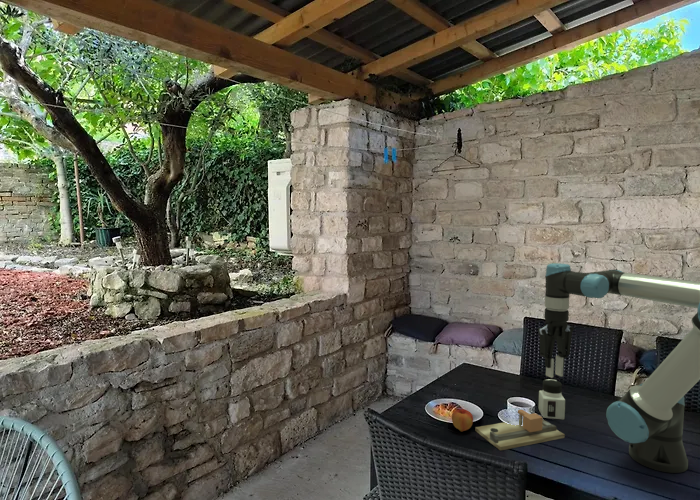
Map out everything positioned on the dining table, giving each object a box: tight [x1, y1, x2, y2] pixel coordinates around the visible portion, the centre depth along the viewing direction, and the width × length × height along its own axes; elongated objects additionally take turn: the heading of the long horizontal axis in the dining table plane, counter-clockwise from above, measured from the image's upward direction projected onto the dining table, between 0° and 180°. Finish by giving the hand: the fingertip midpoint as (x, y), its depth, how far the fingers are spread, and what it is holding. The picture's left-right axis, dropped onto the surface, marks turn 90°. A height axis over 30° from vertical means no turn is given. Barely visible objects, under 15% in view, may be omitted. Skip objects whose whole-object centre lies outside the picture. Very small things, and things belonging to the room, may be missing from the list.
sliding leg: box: [517, 409, 544, 432], centre depth 155 cm, size 8×5×6 cm, turn 18°
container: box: [538, 378, 566, 420], centre depth 170 cm, size 8×8×13 cm
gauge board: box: [474, 419, 566, 451], centre depth 155 cm, size 14×26×4 cm, turn 108°
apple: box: [451, 406, 474, 432], centre depth 158 cm, size 7×7×8 cm
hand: (554, 375), depth 155 cm, fingers open, 3 cm apart
